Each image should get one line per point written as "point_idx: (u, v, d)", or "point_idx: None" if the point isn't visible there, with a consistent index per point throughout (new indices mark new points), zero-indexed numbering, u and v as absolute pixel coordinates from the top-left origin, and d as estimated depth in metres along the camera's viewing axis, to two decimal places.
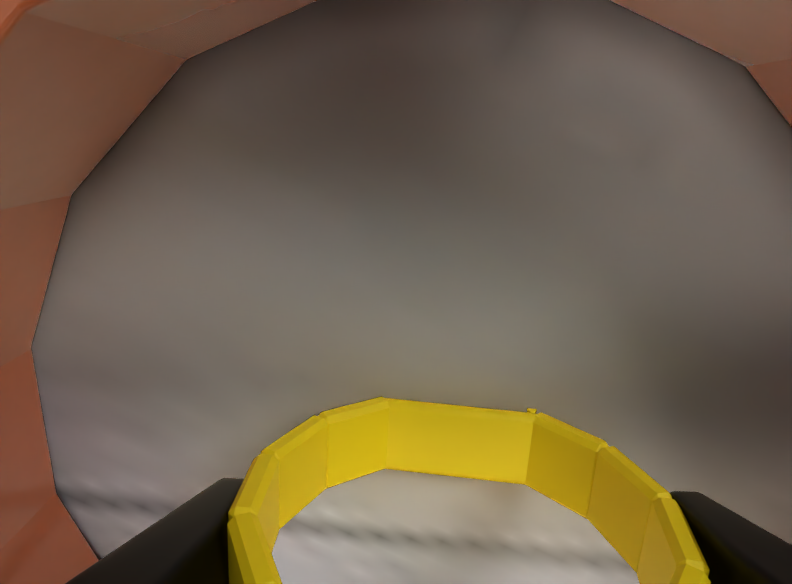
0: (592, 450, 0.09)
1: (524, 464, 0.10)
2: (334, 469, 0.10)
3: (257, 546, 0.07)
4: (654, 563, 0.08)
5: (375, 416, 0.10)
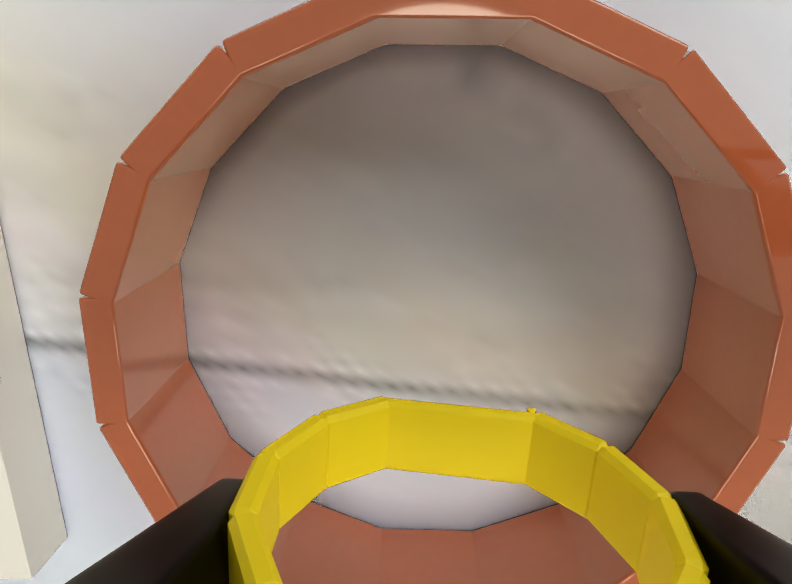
0: (593, 450, 0.09)
1: (524, 464, 0.10)
2: (334, 469, 0.10)
3: (257, 545, 0.07)
4: (653, 562, 0.08)
5: (375, 416, 0.10)
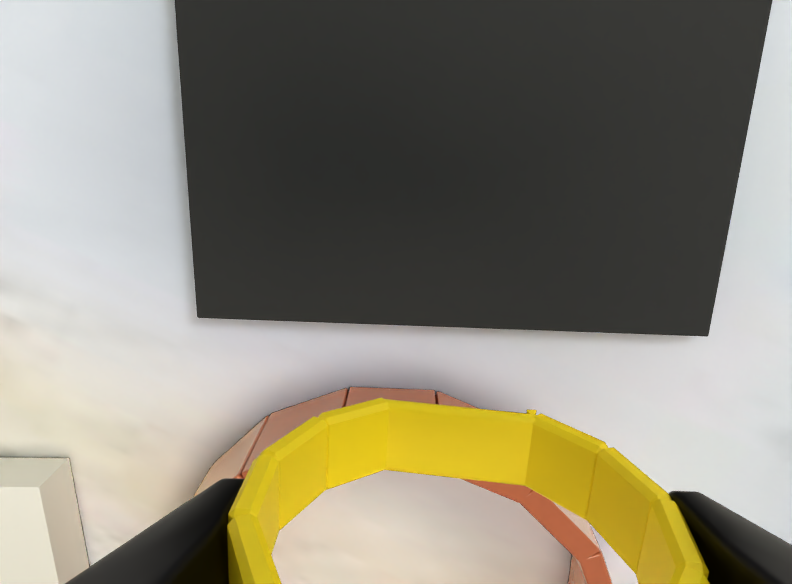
0: (593, 452, 0.09)
1: (524, 466, 0.10)
2: (334, 470, 0.10)
3: (257, 548, 0.07)
4: (653, 565, 0.08)
5: (375, 417, 0.10)
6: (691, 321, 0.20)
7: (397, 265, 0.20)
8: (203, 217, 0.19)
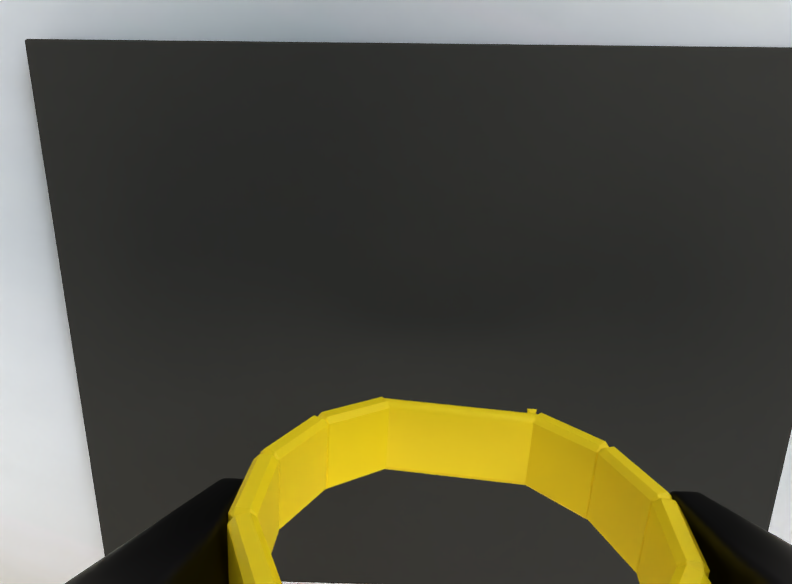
0: (593, 451, 0.09)
1: (524, 464, 0.10)
2: (334, 469, 0.10)
3: (257, 546, 0.07)
4: (654, 564, 0.08)
5: (375, 416, 0.10)
6: None
7: (356, 517, 0.15)
8: (108, 465, 0.15)
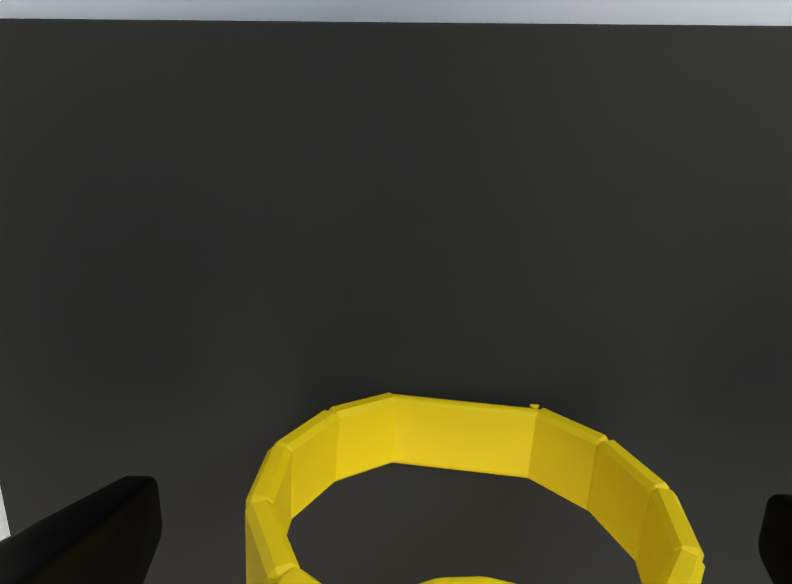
0: (593, 444, 0.10)
1: (527, 458, 0.11)
2: (343, 462, 0.10)
3: (274, 531, 0.07)
4: (651, 550, 0.08)
5: (383, 411, 0.10)
6: None
7: None
8: None
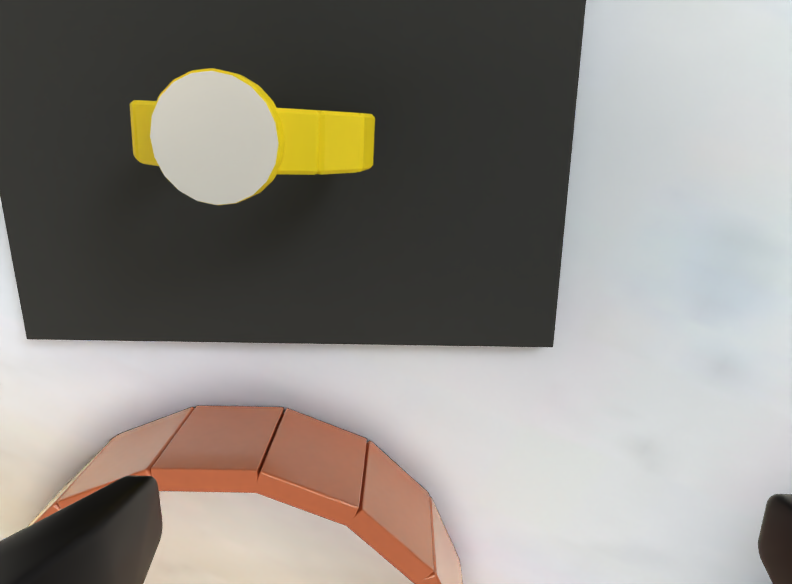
0: None
1: None
2: None
3: None
4: None
5: None
6: (534, 332, 0.19)
7: (226, 281, 0.19)
8: (21, 235, 0.19)
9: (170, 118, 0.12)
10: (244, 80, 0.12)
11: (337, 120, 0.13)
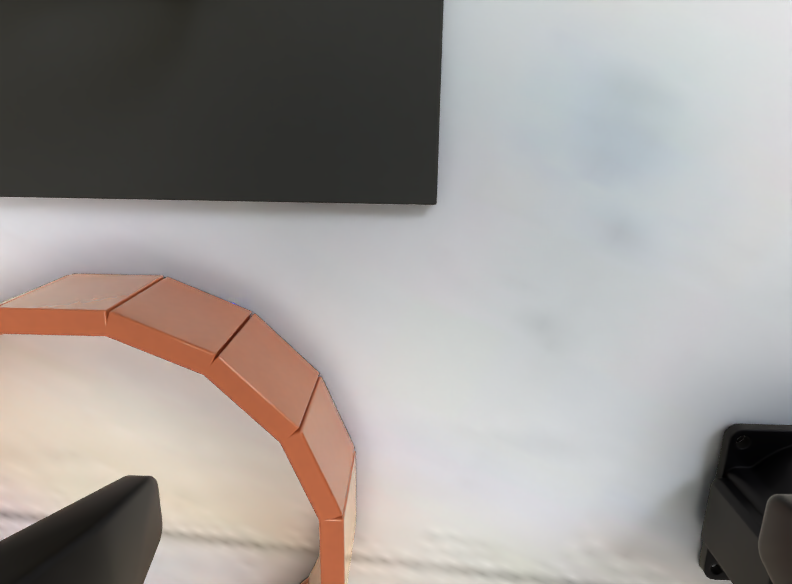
0: None
1: None
2: None
3: None
4: None
5: None
6: (415, 187, 0.18)
7: (92, 129, 0.18)
8: None
9: None
10: None
11: None
